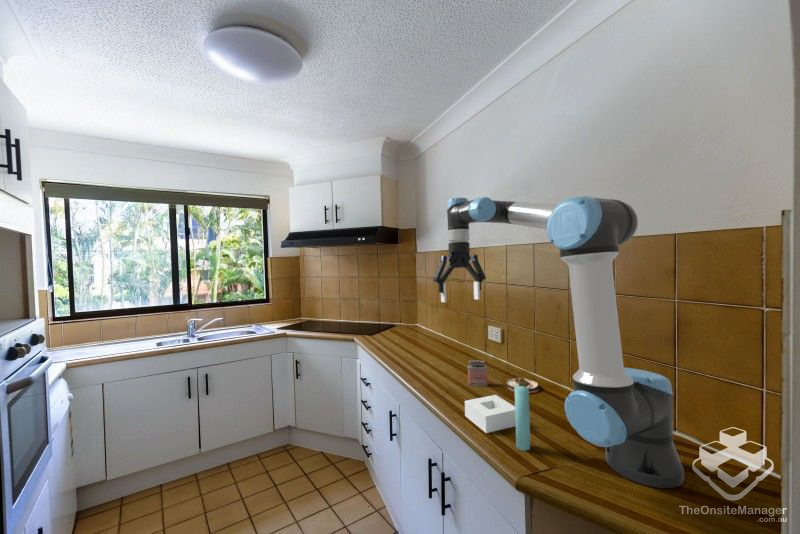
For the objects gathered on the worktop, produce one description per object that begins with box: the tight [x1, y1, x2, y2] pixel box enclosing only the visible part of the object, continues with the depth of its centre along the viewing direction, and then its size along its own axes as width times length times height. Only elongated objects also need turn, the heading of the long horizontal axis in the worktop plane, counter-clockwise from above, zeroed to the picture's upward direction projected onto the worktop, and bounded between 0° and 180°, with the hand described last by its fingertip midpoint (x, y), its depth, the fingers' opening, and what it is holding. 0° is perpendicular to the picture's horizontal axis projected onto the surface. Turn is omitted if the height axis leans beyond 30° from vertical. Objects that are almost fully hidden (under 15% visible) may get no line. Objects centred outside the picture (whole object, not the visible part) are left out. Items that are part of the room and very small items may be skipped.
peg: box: [514, 386, 531, 452], centre depth 89 cm, size 4×4×16 cm
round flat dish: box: [505, 377, 540, 394], centre depth 131 cm, size 15×15×4 cm
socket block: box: [464, 394, 516, 434], centre depth 105 cm, size 12×12×5 cm
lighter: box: [466, 359, 489, 387], centre depth 136 cm, size 8×3×10 cm, turn 84°
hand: (460, 300), depth 119 cm, fingers open, 13 cm apart
